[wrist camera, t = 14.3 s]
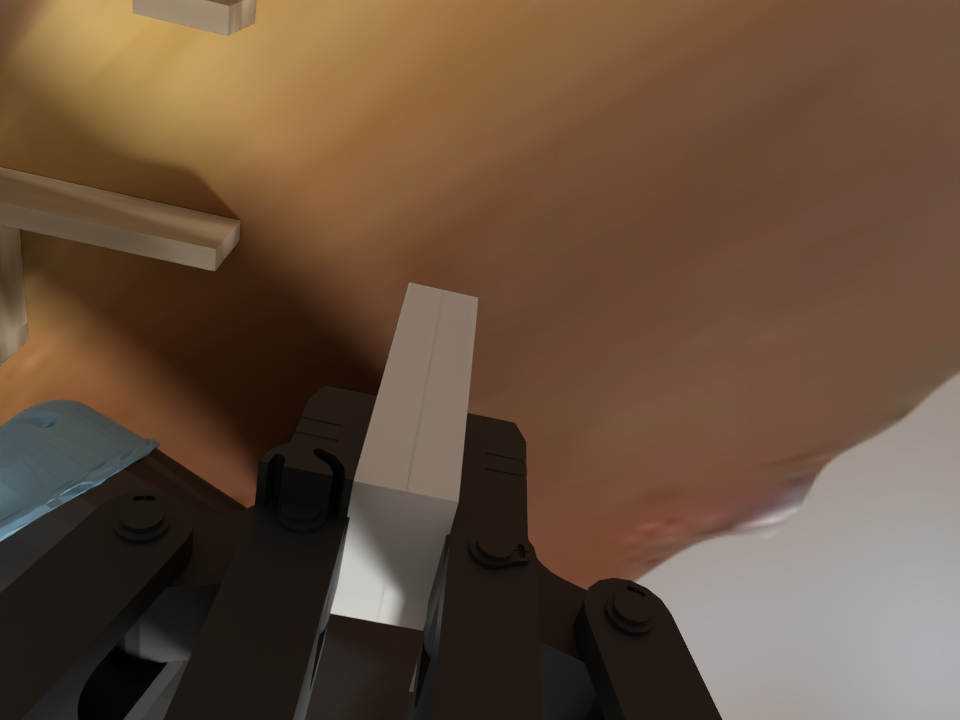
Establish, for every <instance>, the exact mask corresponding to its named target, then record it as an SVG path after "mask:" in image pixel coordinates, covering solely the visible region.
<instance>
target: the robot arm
mask: <svg viewBox="0 0 960 720" xmlns="http://www.w3.org/2000/svg"><path fill="white" fill-rule="evenodd" d="M477 306H478V298H477V297H473V296H468V295H464V294H459V293H455V292H450V291H445V290H441V289H436V288H432V287H427V286H423V285H418V284H414V283H409V285H408V289H407V292H406V296H405V299H404V303H403V306H402V310H401V313H400V317H399V321H398V324H397V328H396V331H395V335H394V338H393V342H392V346H391V349H390V353H389V356H388V360H387V363H386V367H385V370H384V374H383V378H382V381H381V385H380V388H379V392H378V395H377V396H374V395H370V394H365V393H360V392H355V391H350V390H346V389H341V388H336V387H331V386H325V387H324V388H322V389H321V390H320V391H318V392H317V393H316V394H314V395H313V396H312V397H310V398H309V399H308V401H307V404H306V406H305V408H304V411H303V413H302V416H301V419H300V420H299V423H298V425H297V428H296V430H295V434H294V435H293V437H292V440H291V442H290V443H284V444H281V445H279V446H277V447H275V448H273V449H271V450H269V451H267V453H266V454H265V455H264V456H263V457H262V459H261V460H260V461H259V469H258V479H257V489H256V499H255V505H253V506H251V507H249V508H246V507H245V506H243V505H242V504H240V503H238V502H237V501H235V500H234V499H232V498H231V497H229V496H228V495H226V494H225V493H223V492H222V491H220V490H219V489H217V488H216V487H214V486H213V485H211V484H210V483H208V482H207V481H205V480H204V479H202V478H200V477H199V476H197V475H196V474H194V473H193V472H191V471H190V470H188V469H187V468H185V467H184V466H182V465H181V464H179V463H178V462H176V461H175V460H173V459H172V458H170V457H169V456H167V455H165V454H164V453H163V452H161V451H160V450H158V449H157V447H159V446H160V444H159V443H158V442H157V441H155V440H154V439H143V438H142V437H140V436H138V435H137V434H135V433H133V432H132V431H130V430H128V429H126V428H125V427H123V426H121V425H120V424H118V423H116V422H115V421H113V420H111V419H110V418H108V417H106V416H105V415H103V414H101V413H99V412H98V411H96V410H94V409H93V408H91V407H89V406H87V405H85V404H83V403H80V402H76V401H73V400H65V399H59V400H49V401H45V402H41V403H38V404H36V405H34V406H32V407H30V408H28V409H26V410H24V411H22V412H21V413H19V414H18V415H16V416H15V417H13V418H12V419H10V420H9V421H8V422H6V423H5V424H3V425H2V426H1V427H0V720H722V718H721V716H720V714H719V712H718V710H717V708H716V706H715V704H714V702H713V700H712V698H711V696H710V693H709V691H708V689H707V687H706V685H705V683H704V681H703V679H702V677H701V675H700V673H699V671H698V668H697V666H696V665H695V662H694V660H693V658H692V656H691V654H690V652H689V650H688V648H687V646H686V644H685V642H684V640H683V637H682V635H681V634H680V631H679V629H678V627H677V625H676V623H675V621H674V619H673V617H672V615H671V613H670V612H669V610H668V609H667V607H666V606H665V605H664V603H663V602H662V600H661V599H660V598H658V597H657V596H656V595H655V594H653V593H652V592H651V591H650V590H648V589H647V588H645V587H643V586H641V585H639V584H637V583H635V582H632V581H630V580H624V579H617V578H610V579H605V580H599V581H598V582H596V583H595V584H594V585H592V586H591V587H589V589H588V591H587V590H585V589H583V588H581V587H579V586H577V585H574V584H572V583H570V582H568V581H566V580H564V579H562V578H560V577H559V576H557V575H555V574H553V573H552V572H551V571H549V570H548V569H547V568H546V567H545V566H543V565H542V564H541V562H540V561H539V560H538V559H537V557H536V553H535V549H534V547H533V546H532V544H531V543H530V542H529V540H528V526H527V480H526V477H527V468H526V441H525V439H524V437H523V436H522V434H521V432H520V431H519V429H518V427H517V426H516V424H515V423H513V422H508V421H504V420H499V419H494V418H489V417H484V416H480V415H475V414H470V413H467V409H468V399H469V389H470V378H471V368H472V358H473V347H474V337H475V327H476V316H477Z"/></svg>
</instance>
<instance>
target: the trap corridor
mask: <svg viewBox="0 0 960 720" xmlns="http://www.w3.org/2000/svg"><path fill="white" fill-rule="evenodd" d="M255 11H256V0H133V13H134V14H138V15H142V16H147V17H151V18H155V19H159V20H163V21H167V22H172V23H176V24H180V25H184V26H188V27H192V28H197V29H201V30H205V31H209V32H213V33H217V34H221V35H226V36H229V35H231V34H233V33H235V32H237V31H239V30H241V29H243V28H246V27H248V26H250V25H252V24H254V23H255ZM240 223H241V220H236V219H232V218H227V217H223V216H218V215H214V214H209V213H205V212H200V211H196V210H191V209H187V208H182V207H178V206H173V205H169V204H164V203H160V202H155V201H151V200H146V199H142V198H137V197H133V196H128V195H124V194H119V193H115V192H110V191H106V190H101V189H97V188H92V187H88V186H83V185H79V184H74V183H70V182H65V181H61V180H56V179H52V178H47V177H43V176H38V175H34V174H29V173H25V172H21V171H16V170H12V169H7V168H3V167H0V365H1V364H2V363H4V362H5V361H6V360H7V359H8V358H9V357H10V356H11V355H12V354H14V353H15V352H16V351H17V350H18V349H19V348H20V347H21V346H22V345H23V344H25V343H26V342H27V341H28V340H29V336H28V324H27V311H26V299H25V287H24V275H23V263H22V251H21V239H20V229H22V230H27V231H31V232H36V233H41V234H45V235H50V236H55V237H59V238H64V239H68V240H73V241H78V242H82V243H87V244H91V245H96V246H101V247H105V248H110V249H114V250H119V251H124V252H128V253H133V254H137V255H142V256H147V257H151V258H156V259H160V260H165V261H170V262H174V263H179V264H183V265H188V266H193V267H197V268H202V269H207V270H211V271H215V270H216V269H217V268H218V267H219V265H220V264H221V263H222V262H223V260H224V259H225V258H226V257H227V256H228V254H229V253H230V252H231V251H232V249H233V248H234V247H235V246H236V244H237V243H238V242H239V237H240Z"/></svg>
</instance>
